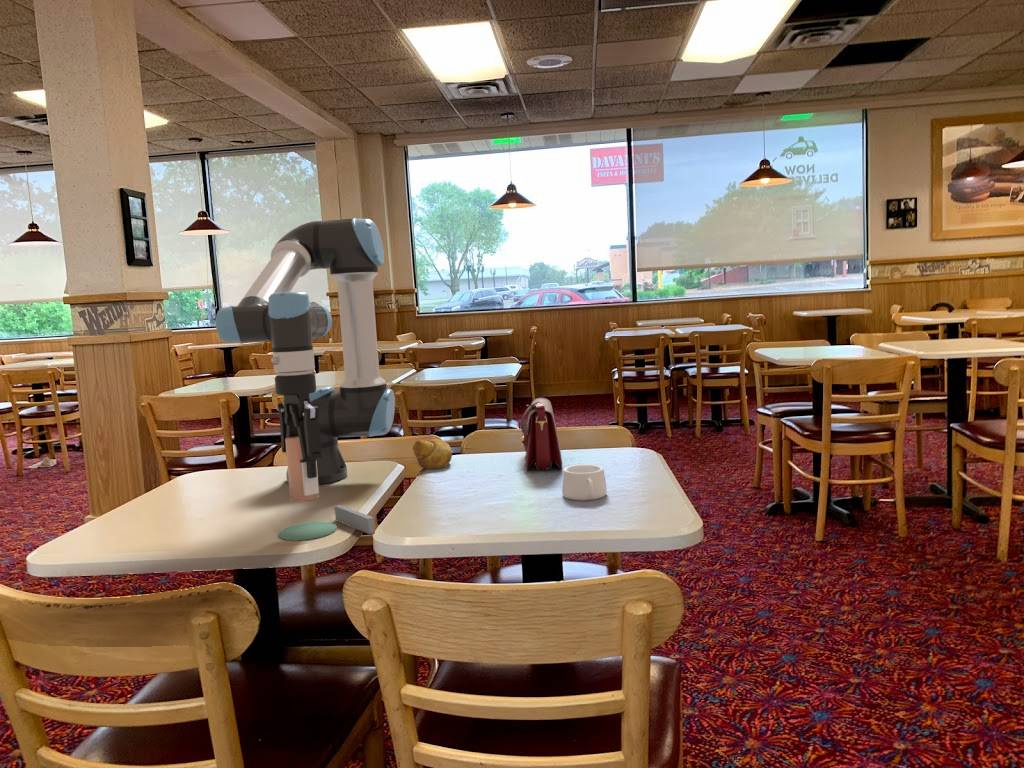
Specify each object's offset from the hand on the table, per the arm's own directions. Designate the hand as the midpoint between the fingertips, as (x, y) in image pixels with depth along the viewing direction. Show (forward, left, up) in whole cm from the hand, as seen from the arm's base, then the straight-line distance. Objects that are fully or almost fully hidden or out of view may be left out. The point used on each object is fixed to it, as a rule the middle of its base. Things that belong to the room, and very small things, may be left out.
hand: (304, 491), depth 147 cm
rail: (+4, +8, -8) cm, 12 cm away
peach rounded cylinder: (0, 0, -1) cm, 1 cm away
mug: (+24, +53, -9) cm, 59 cm away
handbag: (-10, +71, -8) cm, 72 cm away
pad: (0, 0, -8) cm, 8 cm away
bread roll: (-30, +51, -9) cm, 60 cm away
